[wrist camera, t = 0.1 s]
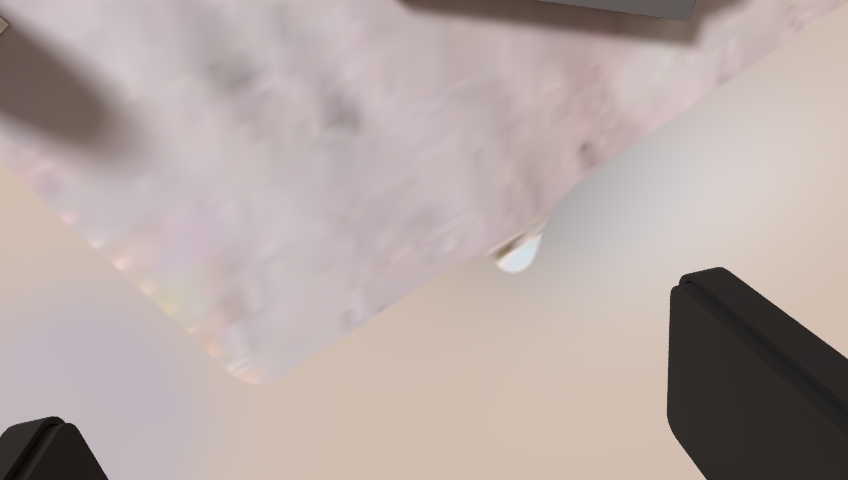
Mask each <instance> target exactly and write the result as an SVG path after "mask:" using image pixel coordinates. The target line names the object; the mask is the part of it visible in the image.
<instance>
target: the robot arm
mask: <svg viewBox="0 0 848 480" xmlns="http://www.w3.org/2000/svg"><path fill="white" fill-rule="evenodd" d="M669 324H670V325H669V359H668V360H669V361H668V392H667V418H668V422H669V425H670V428H671V430H672V432H673V434H674V435H675V437H676V439H677V440H678V441H679V443H680V444H681V445H682V447H683V448H684V450H685V451H686V452H687V454H688V455H689V456H690V458H691V459H692V460H693V462H694V463H695V464H696V466H697V467H698V469H699V470H700V471H701V473H702V474H703V475H704V477H705V478H706V479H707V480H848V359H847V358H846V357H844V356H843V355H842V354H840V353H839V352H838V351H836V350H835V349H834V348H832V347H831V346H830V345H828V344H827V343H825V342H824V341H823V340H821V339H820V338H819V337H817V336H816V335H815V334H813V333H812V332H810V331H809V330H808V329H807V328H805V327H804V326H802V325H801V324H800V323H798V322H797V321H796V320H794V319H793V318H792V317H790V316H789V315H788V314H786V313H785V312H784V311H782V310H781V309H780V308H778V307H777V306H776V305H774V304H773V303H771V302H770V301H769V300H767V299H766V298H765V297H763V296H762V295H761V294H759V293H758V292H757V291H755V290H754V289H753V288H751V287H750V286H749V285H747V284H746V283H744V282H743V281H742V280H740V279H739V278H738V277H736V276H735V275H734V274H732V273H731V272H730V271H728V270H726V269H725V268H723V267H716V268H711V269H707V270H703V271H698V272H693V273H689V274H685V275H683V276H682V277H681V279H680V281H679V285H678V286H675V287H673V288H672V290H671V295H670V323H669ZM0 480H108V478H107V476H106V475H105V473H104V472H103V470H102V468H101V467H100V465H99V463H98V462H97V460H96V458H95V457H94V455H93V453H92V452H91V450H90V448H89V447H88V445H87V443H86V442H85V440H84V438H83V437H82V435H81V433H80V432H79V430H78V429H77V427H76V426H75V425H73V424H71V423H65V422H64V421H63V420H62V419H61V418H59V417H53V416H52V417H47V418H42V419H38V420H34V421H29V422H25V423H20V424H16V425H13V426H11V427H9V428H8V429H7V430H6V431H5V432H4V433H3V434H2V435H1V437H0Z"/></svg>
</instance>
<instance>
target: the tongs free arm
mask: <svg viewBox="0 0 848 480" xmlns="http://www.w3.org/2000/svg"><path fill="white" fill-rule="evenodd" d="M537 1H544V2H552V3H559V4H566V5H573V6H581V7H588V8H595V9H603V10H610V11H617V12H624V13H632V14H639V15H646V16H654V17H661V18H669V19H677V20H686V21H690V18H691V14H692V11H693V7H694V4H695V1H696V0H537Z"/></svg>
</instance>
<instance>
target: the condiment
mask: <svg viewBox="0 0 848 480" xmlns="http://www.w3.org/2000/svg"><path fill="white" fill-rule="evenodd" d="M8 25H9V24H8V23H6V22H5V21H4V20H3V19H2V18H1V17H0V34H1V33H2V32H3V31H4V30H5V28H6V27H7V26H8Z"/></svg>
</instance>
